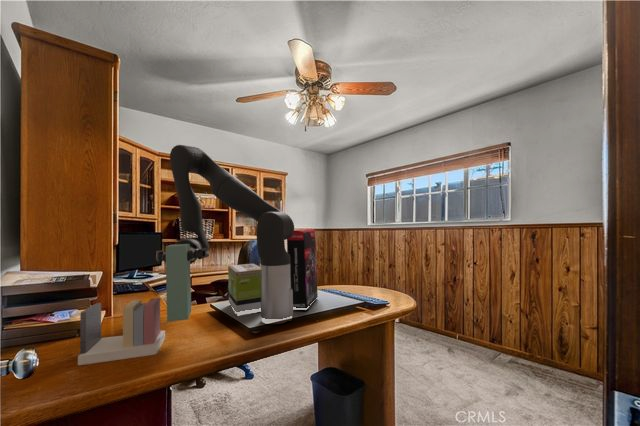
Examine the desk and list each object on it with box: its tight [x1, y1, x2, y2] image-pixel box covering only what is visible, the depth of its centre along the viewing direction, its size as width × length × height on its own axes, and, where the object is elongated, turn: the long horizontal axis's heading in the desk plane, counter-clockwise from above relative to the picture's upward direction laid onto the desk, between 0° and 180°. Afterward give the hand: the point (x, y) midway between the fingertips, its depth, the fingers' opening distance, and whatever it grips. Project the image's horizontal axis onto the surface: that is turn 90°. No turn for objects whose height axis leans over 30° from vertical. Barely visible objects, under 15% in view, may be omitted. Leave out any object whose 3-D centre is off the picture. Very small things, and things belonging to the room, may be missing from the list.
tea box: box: [227, 263, 261, 312], centre depth 101 cm, size 15×10×15 cm, turn 27°
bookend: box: [79, 302, 102, 355], centre depth 67 cm, size 1×8×9 cm, turn 18°
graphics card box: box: [286, 228, 319, 308], centre depth 104 cm, size 17×7×27 cm, turn 168°
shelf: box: [77, 297, 166, 366], centre depth 69 cm, size 15×10×11 cm, turn 108°
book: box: [165, 243, 192, 323], centre depth 73 cm, size 4×7×18 cm, turn 18°
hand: (177, 257), depth 72 cm, fingers closed on book, 4 cm apart
